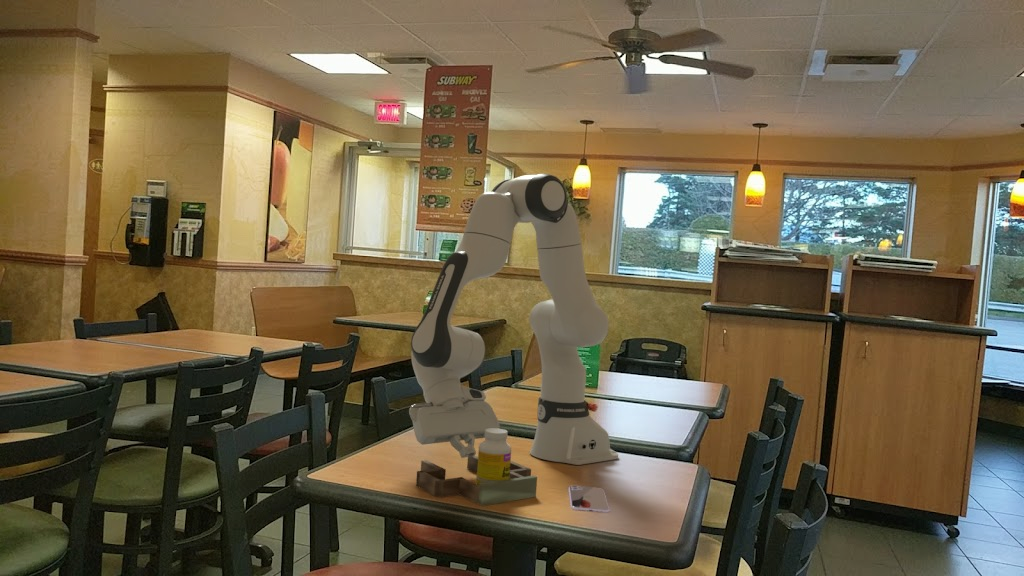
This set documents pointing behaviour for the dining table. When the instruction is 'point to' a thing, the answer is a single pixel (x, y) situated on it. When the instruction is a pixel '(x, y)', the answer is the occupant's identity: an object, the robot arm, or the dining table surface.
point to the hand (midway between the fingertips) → (469, 455)
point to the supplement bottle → (494, 457)
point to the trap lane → (482, 494)
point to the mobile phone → (588, 499)
